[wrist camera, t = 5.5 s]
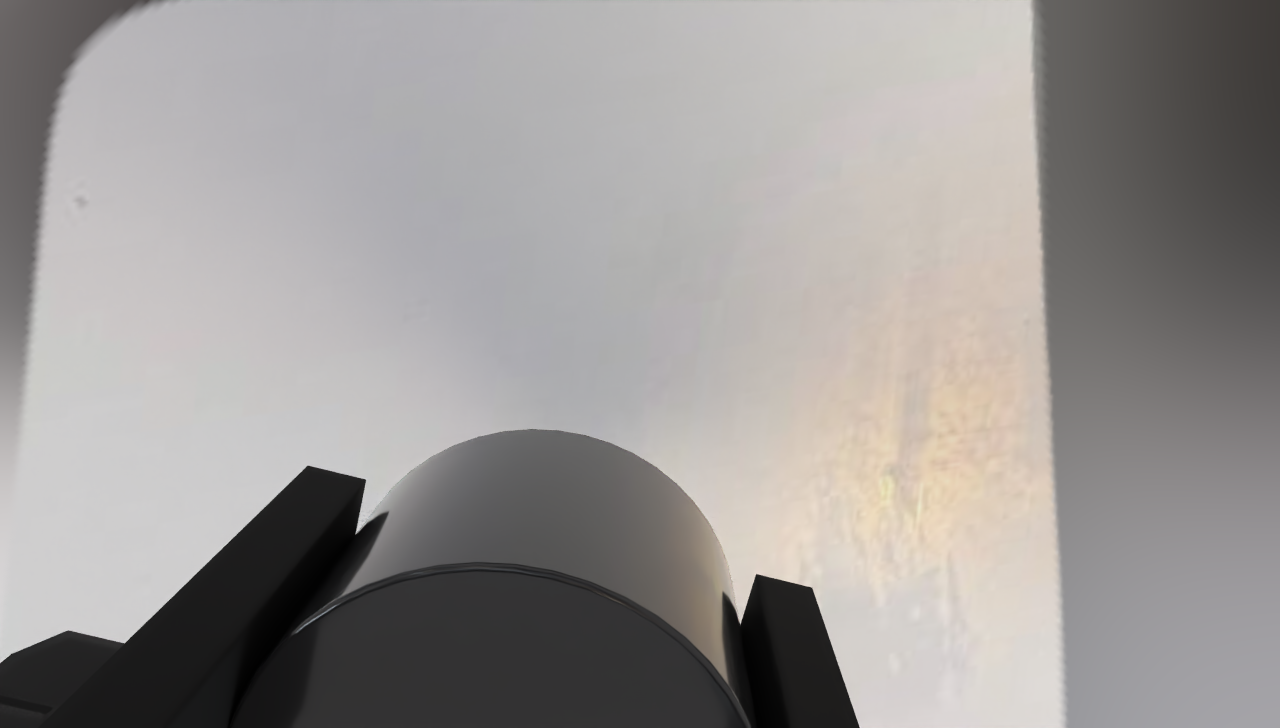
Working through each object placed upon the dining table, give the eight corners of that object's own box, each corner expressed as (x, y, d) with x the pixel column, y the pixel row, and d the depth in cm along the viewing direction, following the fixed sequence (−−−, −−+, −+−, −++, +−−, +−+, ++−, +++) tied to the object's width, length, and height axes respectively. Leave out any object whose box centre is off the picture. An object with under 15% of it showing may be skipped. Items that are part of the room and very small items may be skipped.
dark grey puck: (267, 583, 13) (98, 780, 9) (565, 347, 12) (524, 450, 8) (519, 844, 14) (465, 1126, 10) (812, 641, 13) (881, 862, 9)
